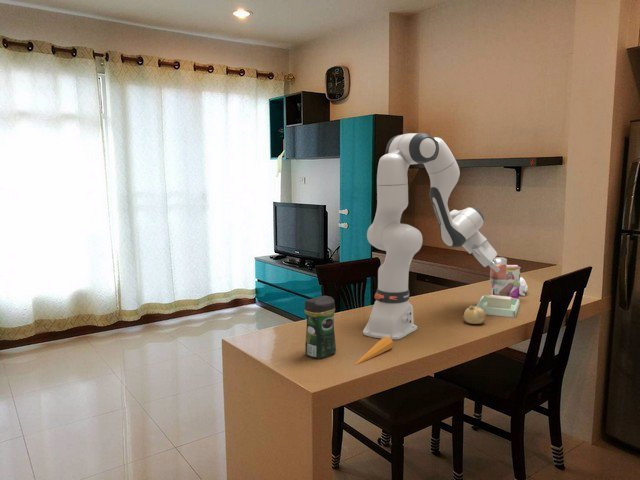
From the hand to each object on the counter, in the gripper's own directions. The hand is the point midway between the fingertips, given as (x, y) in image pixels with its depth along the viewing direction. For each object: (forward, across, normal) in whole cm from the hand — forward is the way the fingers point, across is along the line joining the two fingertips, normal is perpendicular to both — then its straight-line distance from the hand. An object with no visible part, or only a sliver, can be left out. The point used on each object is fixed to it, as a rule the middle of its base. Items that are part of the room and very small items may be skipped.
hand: (500, 269), depth 198 cm
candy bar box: (+13, +20, +13) cm, 28 cm away
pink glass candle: (+4, 0, +4) cm, 6 cm away
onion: (+8, -17, +18) cm, 26 cm away
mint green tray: (+12, +4, +14) cm, 19 cm away
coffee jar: (-19, -71, +45) cm, 86 cm away
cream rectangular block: (+12, +9, +13) cm, 20 cm away
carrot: (-8, -65, +34) cm, 74 cm away
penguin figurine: (+17, +39, +10) cm, 44 cm away
